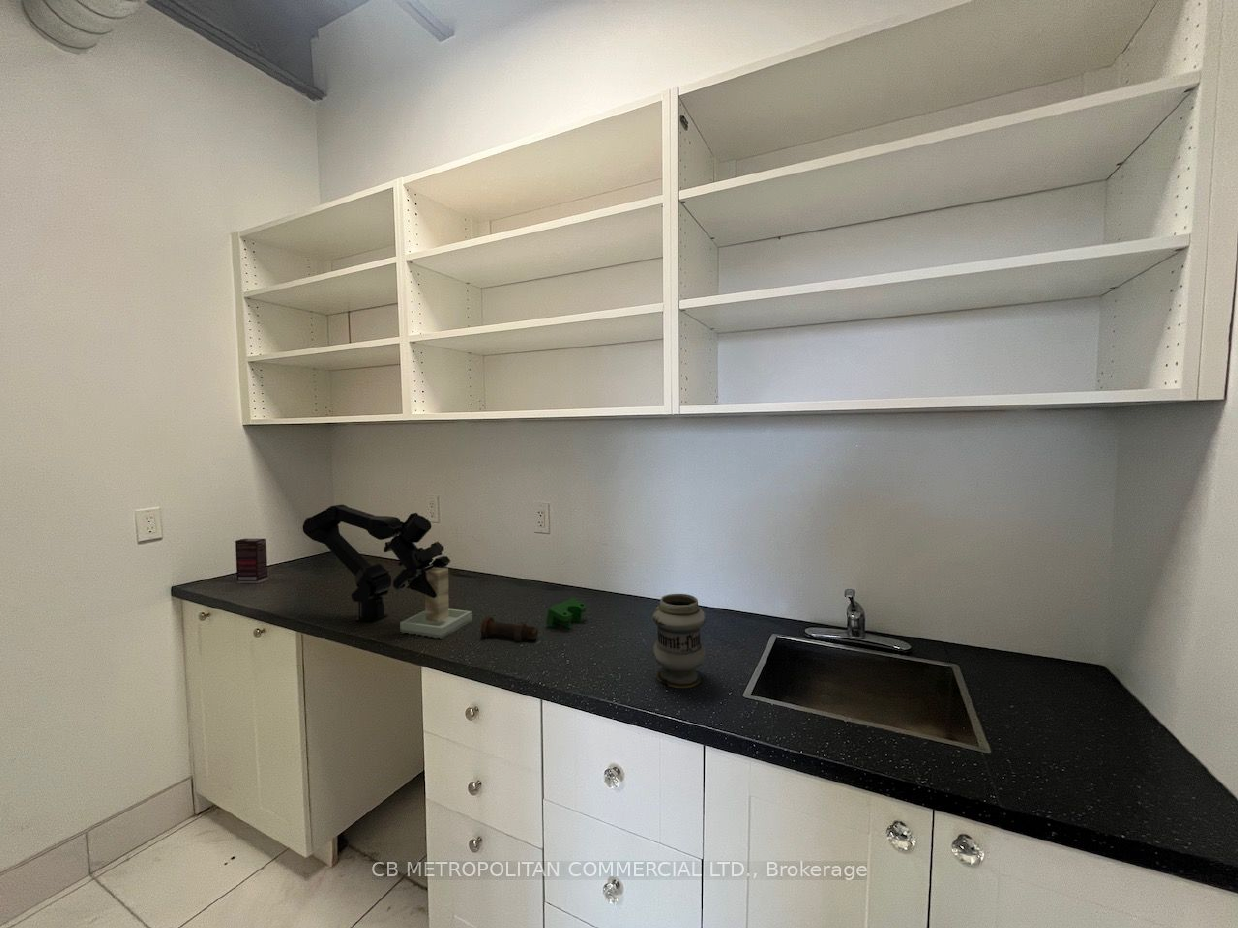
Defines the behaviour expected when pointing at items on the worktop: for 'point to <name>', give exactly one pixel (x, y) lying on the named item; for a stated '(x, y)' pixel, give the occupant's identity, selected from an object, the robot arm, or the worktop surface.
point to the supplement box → (251, 560)
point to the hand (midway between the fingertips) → (440, 594)
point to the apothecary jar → (679, 640)
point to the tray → (436, 624)
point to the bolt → (507, 629)
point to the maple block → (439, 605)
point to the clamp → (566, 613)
